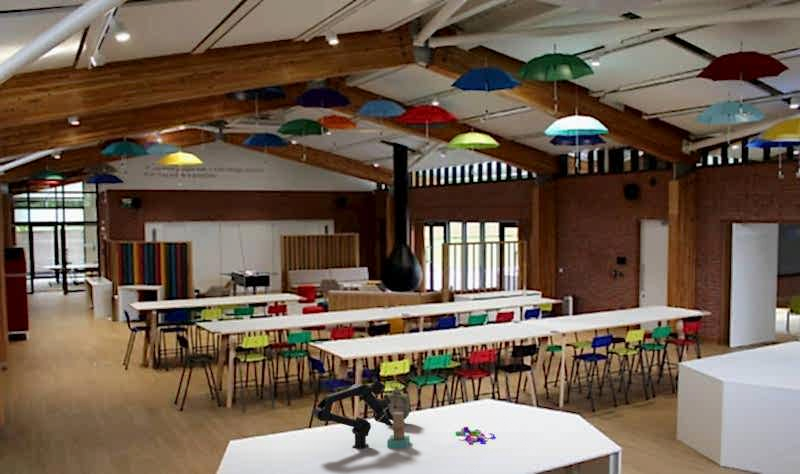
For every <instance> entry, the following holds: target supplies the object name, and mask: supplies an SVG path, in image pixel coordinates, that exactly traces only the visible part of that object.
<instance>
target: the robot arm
mask: <svg viewBox="0 0 800 474" xmlns="http://www.w3.org/2000/svg"><path fill="white" fill-rule="evenodd" d="M385 389H386V386H385V385H384V384H383V383H382V381H379V380H378V379H377V378H376V379H374V381H373V382H372V383H371V384H370V385H366V384H364V383H362V382H356V383H355V384H352V385H351V386H349V387H348V388H345V389H343V390H339V391H337V392H336V391H335V392H332V393H330V394H325V395H324V397H323V399H321V401H320V402H319V403H318V404H317V406H316V407H315V408H314V409H313V411H312V416H313V418H315V419H317V420H318V421H320V422H334V423H337V424H342V425H343V426H344V425H345V426H349V427H352V428H351V432H352V434H353V435H354V445H352V448H355V449H365V448H366V447H368V446H369V444H368V443H367V437H368V436H369V433H370V431H371V428H372V424H371V423H370V422H369V420H368V419H366V418H364V417H359V416H356V417H355V418H352V417H351V418H350V417H347V416H345V415H341V414H340V415H339V414H337V413H333V412H331V409H332V405H333V404H334V403H336V402H339V401H343V400H345V399H348V398H351V397H358V402H359V403H361V402H362V401H363V402H364V403H365V404H366V405H367V406H368V407H369V408H368V409H369V410H371V411H373V412H374V417H373V418H374V419H373V420H374V421H375V422H378V423H381V424H384V425H386V424H387V425H386V426H389V427H393V416H392V414H391V412H390V406H389V404H390V403H391V402H392V400H391V397H390V396H388V395H387V394H388V393H387V394H384V395H383V398H381V399H380V398H377V397H375V396H379V395H380V394H381V393H382V392H383V391H384V390H385ZM388 406H389V407H388ZM387 407H388V408H387ZM389 419H390V420H389Z"/></svg>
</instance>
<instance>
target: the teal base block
mask: <svg viewBox="0 0 800 474" xmlns="http://www.w3.org/2000/svg"><path fill="white" fill-rule="evenodd" d="M410 441H411V439H410V435H404V439H394V434H391V435H390V436H389V437H388V439H387V442H386V443H387V446H386V447H387V449H388V448H389V449H407V448H408V446H409V444H410Z"/></svg>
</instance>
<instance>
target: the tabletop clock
mask: <svg viewBox="0 0 800 474" xmlns="http://www.w3.org/2000/svg"><path fill="white" fill-rule="evenodd" d="M394 383H396V384H400V385H401V386H400V387H398V386H395V387H394V386H392V385H393V384H394ZM390 387H391V388H392V389H393V390H392V391H391V392H388V393H387V395H388V396H390V397H391V400H392V402H391V403H390V404H389V406H390V412H391V414H392V416H393V413H394V412H403V416H404V420H406V419H407V418H408V417H409V415H410V410H411V402H410V401H411V400H410V397H409V394H407V393H404V392H401V390H400V389H401V388H402V387H403V385H402V382H400V381H392V382H391V383H390ZM389 406H388V407H389ZM388 407H387V408H388ZM389 420H390V419H389ZM390 421H391V420H390ZM385 425H386V426H388V425H387V424H385ZM405 426H407V423H405V422H404V427H405Z"/></svg>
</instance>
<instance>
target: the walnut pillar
mask: <svg viewBox="0 0 800 474" xmlns="http://www.w3.org/2000/svg"><path fill="white" fill-rule="evenodd" d="M404 423H405V419H404V416H403V412H394V413H393V421H392V424H393V425H392V427H393V429H392V430H393V435H394V439H404V436H405V426H404Z"/></svg>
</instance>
